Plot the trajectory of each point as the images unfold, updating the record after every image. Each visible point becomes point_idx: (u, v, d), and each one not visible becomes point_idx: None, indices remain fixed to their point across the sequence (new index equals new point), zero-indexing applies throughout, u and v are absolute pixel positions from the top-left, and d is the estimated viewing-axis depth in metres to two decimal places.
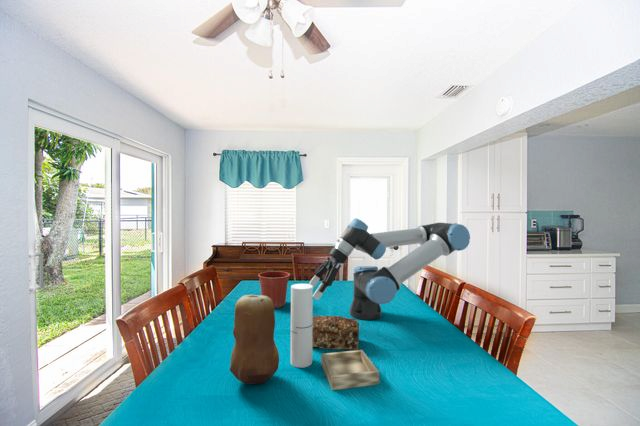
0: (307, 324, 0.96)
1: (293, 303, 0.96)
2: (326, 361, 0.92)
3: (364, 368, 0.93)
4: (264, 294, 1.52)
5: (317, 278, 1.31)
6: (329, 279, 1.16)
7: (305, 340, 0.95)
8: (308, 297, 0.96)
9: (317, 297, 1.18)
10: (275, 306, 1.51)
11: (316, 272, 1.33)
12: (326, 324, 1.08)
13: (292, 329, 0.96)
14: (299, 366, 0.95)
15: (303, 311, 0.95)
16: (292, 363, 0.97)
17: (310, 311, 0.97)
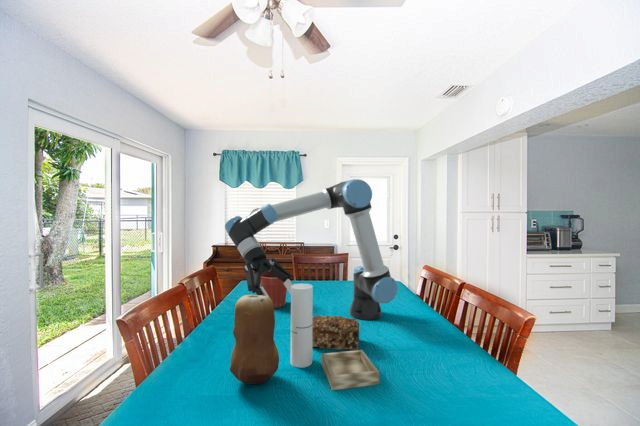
0: (307, 324, 0.96)
1: (293, 303, 0.96)
2: (326, 361, 0.92)
3: (364, 368, 0.93)
4: None
5: (286, 282, 1.09)
6: (248, 285, 0.97)
7: (305, 340, 0.95)
8: (308, 297, 0.96)
9: None
10: (275, 306, 1.51)
11: None
12: (326, 324, 1.08)
13: (292, 329, 0.96)
14: (299, 366, 0.95)
15: (303, 311, 0.95)
16: (292, 363, 0.97)
17: (310, 311, 0.97)
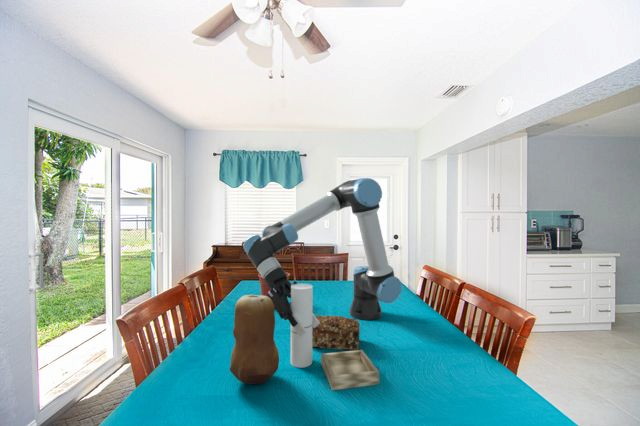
0: (307, 324, 0.96)
1: (293, 303, 0.96)
2: (326, 361, 0.92)
3: (364, 368, 0.93)
4: (264, 294, 1.52)
5: None
6: (279, 312, 0.94)
7: (305, 340, 0.95)
8: (308, 297, 0.96)
9: (302, 331, 0.93)
10: None
11: None
12: (326, 324, 1.09)
13: (292, 329, 0.96)
14: (299, 366, 0.95)
15: (303, 311, 0.95)
16: (292, 363, 0.97)
17: (310, 311, 0.97)
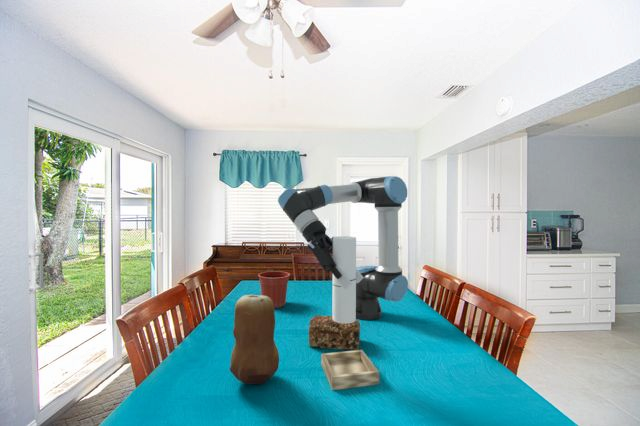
0: (351, 277, 0.89)
1: (336, 254, 0.89)
2: (326, 361, 0.92)
3: (364, 368, 0.93)
4: (264, 294, 1.52)
5: None
6: (322, 264, 0.87)
7: (350, 294, 0.89)
8: (353, 247, 0.89)
9: (347, 283, 0.86)
10: (275, 306, 1.51)
11: None
12: (327, 324, 1.09)
13: (335, 283, 0.90)
14: (343, 322, 0.88)
15: (347, 263, 0.88)
16: (335, 319, 0.90)
17: (354, 263, 0.90)
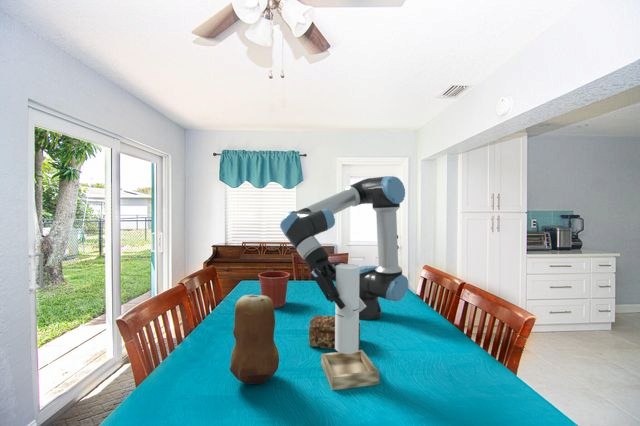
0: (355, 307, 0.88)
1: (339, 284, 0.88)
2: (326, 361, 0.92)
3: (364, 368, 0.93)
4: (264, 294, 1.52)
5: None
6: (325, 294, 0.87)
7: (353, 324, 0.88)
8: (356, 277, 0.88)
9: (350, 313, 0.86)
10: (275, 306, 1.51)
11: None
12: (327, 323, 1.09)
13: (338, 312, 0.89)
14: (346, 352, 0.88)
15: (351, 293, 0.88)
16: (338, 349, 0.89)
17: (357, 293, 0.89)
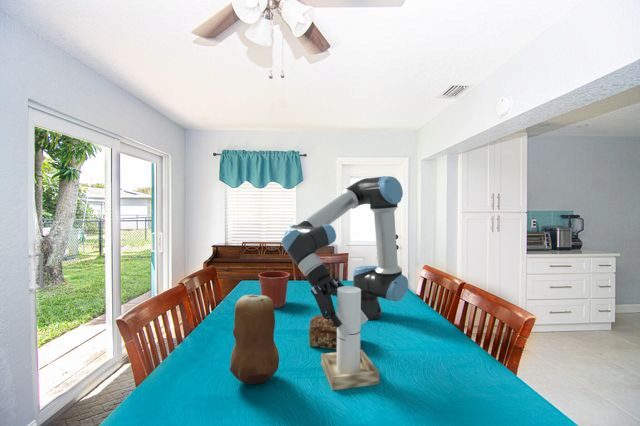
0: (356, 330, 0.88)
1: (341, 308, 0.89)
2: (326, 361, 0.92)
3: (364, 368, 0.93)
4: (264, 294, 1.52)
5: None
6: (322, 311, 0.86)
7: (355, 348, 0.88)
8: (358, 301, 0.88)
9: (347, 332, 0.85)
10: (275, 306, 1.51)
11: None
12: (327, 323, 1.09)
13: (339, 335, 0.89)
14: None
15: (352, 317, 0.88)
16: (339, 372, 0.90)
17: (359, 316, 0.89)
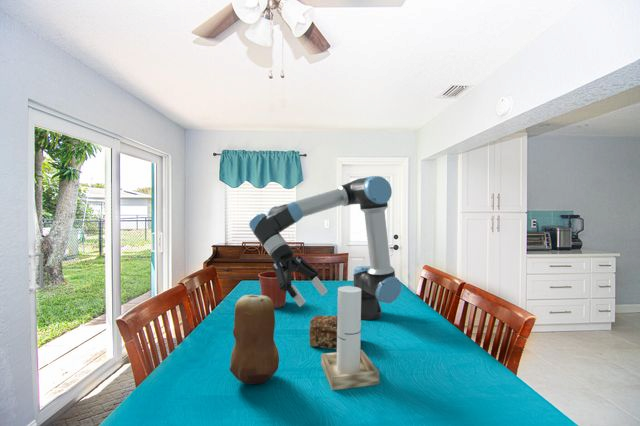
0: (356, 330, 0.89)
1: (341, 307, 0.89)
2: (326, 361, 0.92)
3: (364, 368, 0.93)
4: (264, 294, 1.52)
5: (314, 279, 1.07)
6: (279, 283, 0.95)
7: (355, 347, 0.89)
8: (358, 300, 0.89)
9: (301, 301, 0.94)
10: (275, 306, 1.51)
11: None
12: (327, 323, 1.09)
13: (340, 335, 0.90)
14: None
15: (353, 316, 0.88)
16: (339, 372, 0.90)
17: (359, 316, 0.90)
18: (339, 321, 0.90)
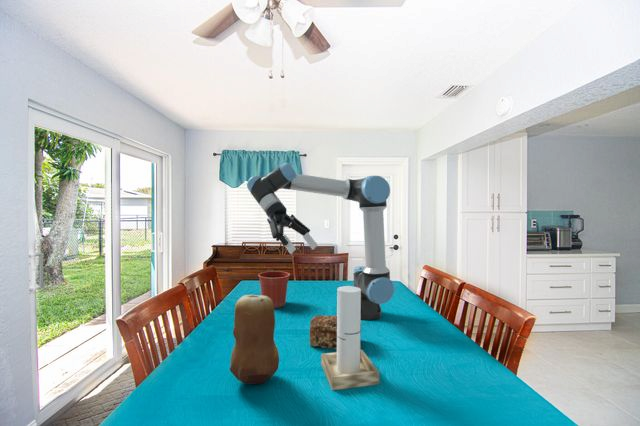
0: (356, 330, 0.89)
1: (341, 307, 0.89)
2: (326, 361, 0.92)
3: (364, 368, 0.93)
4: (264, 294, 1.52)
5: (306, 235, 1.16)
6: (272, 232, 1.05)
7: (355, 347, 0.89)
8: (358, 300, 0.89)
9: (292, 248, 1.03)
10: (275, 306, 1.51)
11: None
12: (327, 323, 1.09)
13: (339, 335, 0.90)
14: None
15: (352, 316, 0.88)
16: (339, 372, 0.90)
17: (359, 316, 0.90)
18: (339, 321, 0.90)
